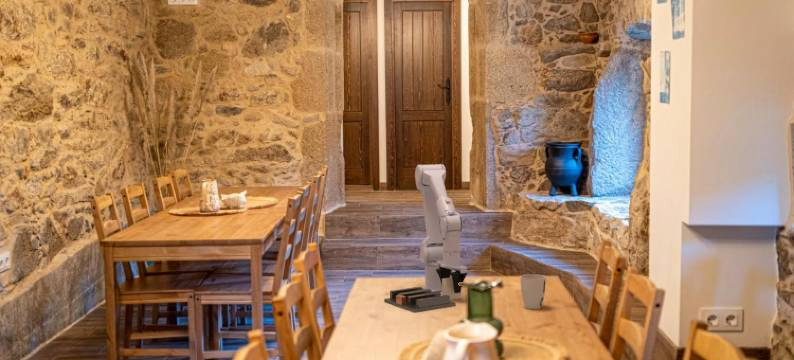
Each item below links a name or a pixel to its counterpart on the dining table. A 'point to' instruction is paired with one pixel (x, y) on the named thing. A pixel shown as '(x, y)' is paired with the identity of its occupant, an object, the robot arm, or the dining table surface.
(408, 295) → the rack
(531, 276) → the cup
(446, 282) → the tall beige block
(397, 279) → the dining table surface
